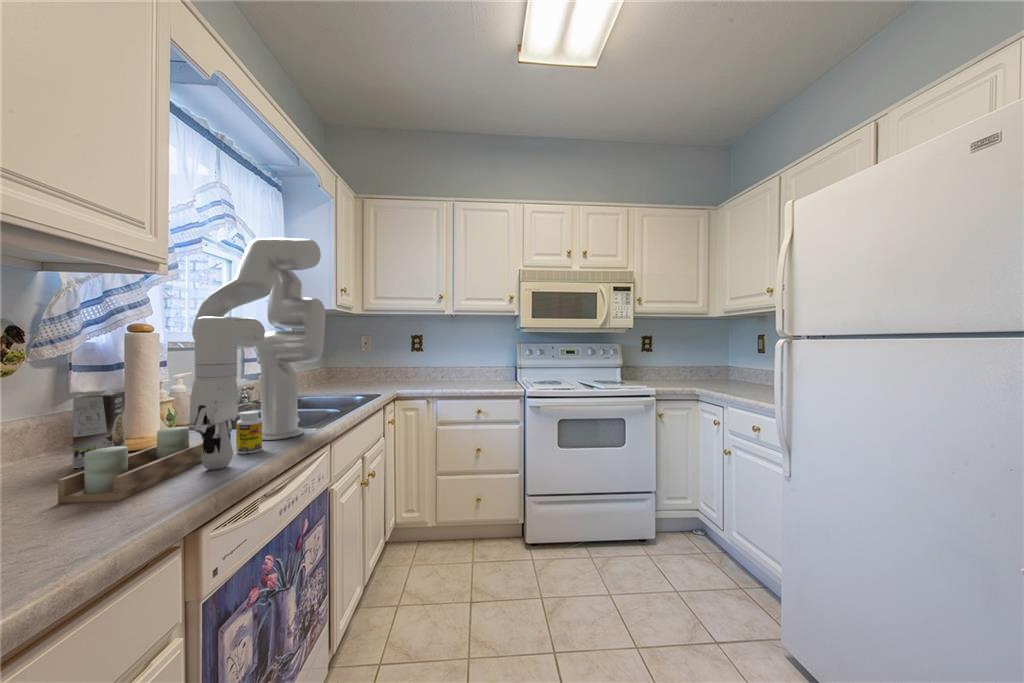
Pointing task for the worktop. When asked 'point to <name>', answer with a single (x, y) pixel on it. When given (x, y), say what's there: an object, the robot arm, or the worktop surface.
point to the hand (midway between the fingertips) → (217, 452)
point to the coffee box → (97, 423)
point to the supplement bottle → (249, 433)
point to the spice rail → (129, 468)
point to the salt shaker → (226, 451)
